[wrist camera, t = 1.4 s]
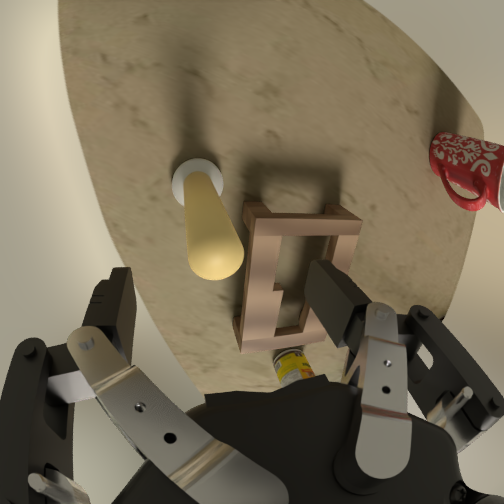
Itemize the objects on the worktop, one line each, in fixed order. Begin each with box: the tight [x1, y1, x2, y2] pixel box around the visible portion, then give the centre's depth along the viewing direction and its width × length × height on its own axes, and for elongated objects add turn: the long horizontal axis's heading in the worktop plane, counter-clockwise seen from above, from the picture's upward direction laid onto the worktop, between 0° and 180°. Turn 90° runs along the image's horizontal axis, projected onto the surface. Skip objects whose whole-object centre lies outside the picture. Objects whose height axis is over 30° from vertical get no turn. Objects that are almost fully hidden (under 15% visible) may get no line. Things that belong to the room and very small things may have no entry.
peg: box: [172, 158, 244, 280], centre depth 20 cm, size 5×5×15 cm
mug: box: [429, 132, 504, 213], centre depth 26 cm, size 13×9×14 cm
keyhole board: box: [233, 201, 363, 354], centre depth 32 cm, size 18×12×5 cm, turn 174°
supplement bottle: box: [273, 349, 315, 388], centre depth 39 cm, size 6×6×10 cm
